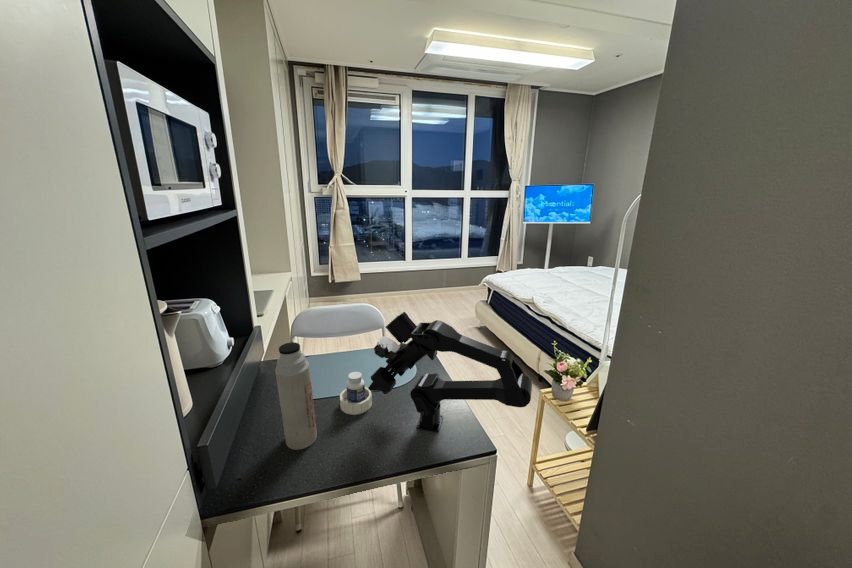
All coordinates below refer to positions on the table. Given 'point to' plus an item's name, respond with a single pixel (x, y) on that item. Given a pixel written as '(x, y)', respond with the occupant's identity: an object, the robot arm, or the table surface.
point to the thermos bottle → (295, 397)
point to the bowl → (355, 407)
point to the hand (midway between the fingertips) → (376, 380)
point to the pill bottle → (355, 388)
